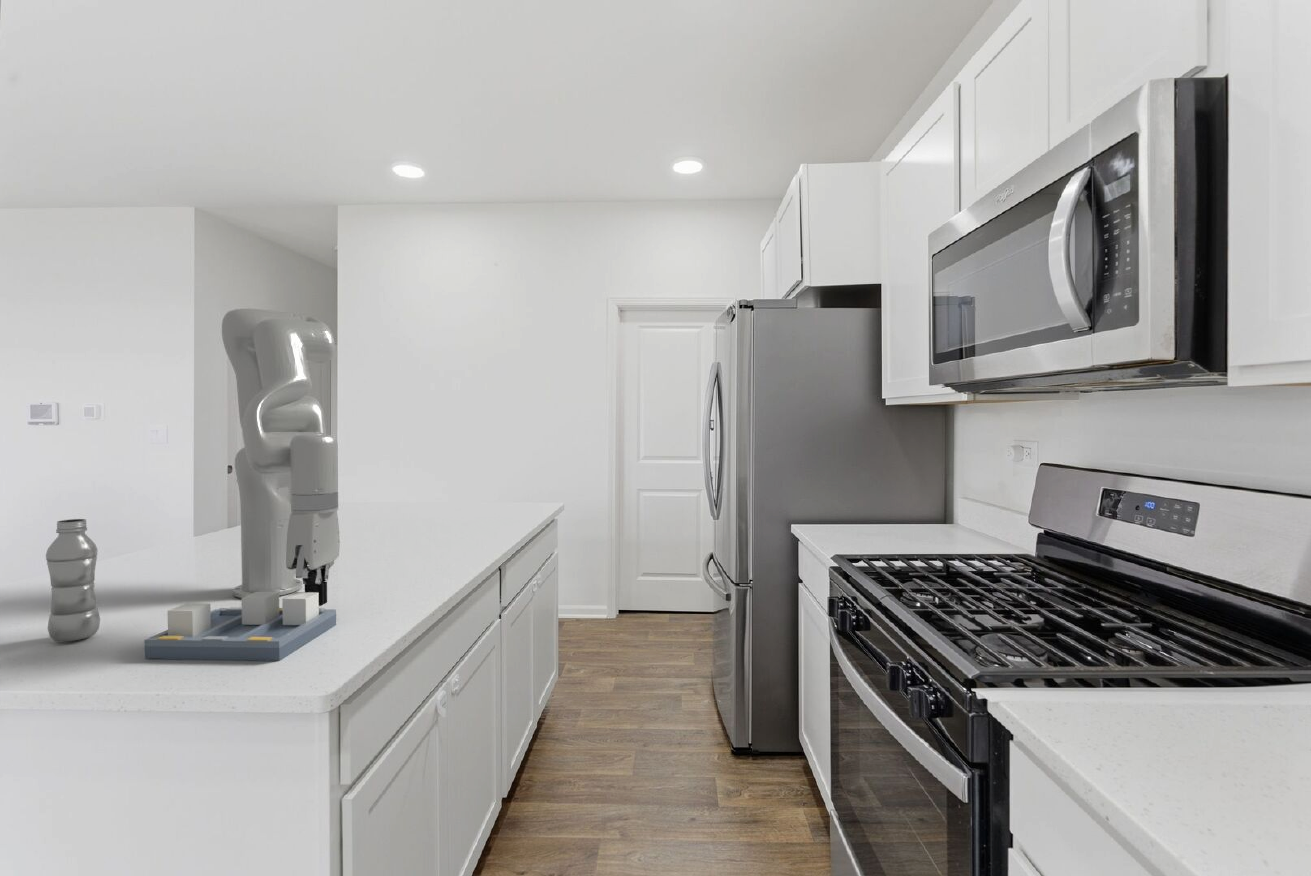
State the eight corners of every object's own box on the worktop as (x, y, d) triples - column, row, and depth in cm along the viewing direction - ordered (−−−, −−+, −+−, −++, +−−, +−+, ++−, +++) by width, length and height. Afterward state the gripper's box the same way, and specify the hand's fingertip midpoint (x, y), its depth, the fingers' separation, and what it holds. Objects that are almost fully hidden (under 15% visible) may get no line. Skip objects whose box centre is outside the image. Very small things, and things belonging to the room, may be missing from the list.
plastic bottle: (69, 647, 103) (66, 524, 103) (36, 644, 105) (33, 522, 104) (110, 634, 110) (108, 518, 109) (79, 631, 111) (76, 516, 110)
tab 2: (256, 617, 113) (256, 591, 113) (279, 617, 113) (279, 592, 113) (241, 624, 109) (241, 598, 109) (265, 624, 109) (264, 598, 109)
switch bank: (221, 623, 116) (220, 605, 116) (336, 624, 116) (335, 607, 116) (144, 658, 99) (144, 638, 99) (279, 660, 99) (279, 640, 99)
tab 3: (296, 617, 113) (295, 592, 112) (318, 617, 113) (318, 592, 112) (282, 624, 109) (282, 598, 108) (306, 625, 109) (305, 598, 108)
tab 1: (186, 630, 106) (186, 603, 105) (210, 630, 106) (210, 603, 105) (168, 638, 102) (167, 610, 101) (192, 639, 102) (192, 611, 101)
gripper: (316, 497, 122) (317, 593, 123) (268, 508, 107) (270, 617, 108) (355, 497, 122) (356, 593, 123) (313, 509, 107) (314, 617, 108)
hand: (316, 604), depth 115 cm, fingers closed
